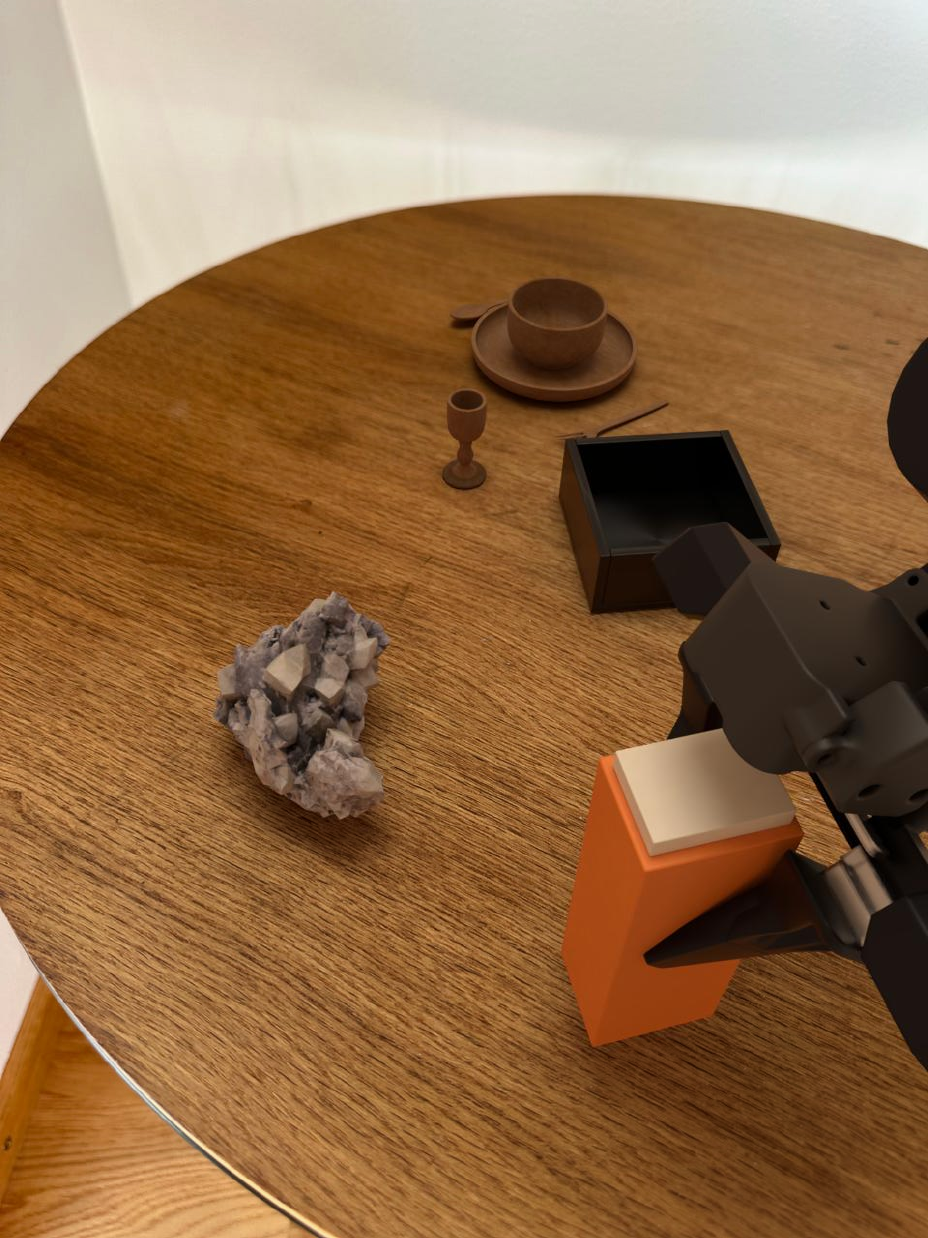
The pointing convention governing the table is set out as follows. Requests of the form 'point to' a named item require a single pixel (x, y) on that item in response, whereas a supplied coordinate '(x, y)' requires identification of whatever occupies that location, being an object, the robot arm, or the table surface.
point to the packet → (666, 876)
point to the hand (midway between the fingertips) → (628, 903)
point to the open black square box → (651, 508)
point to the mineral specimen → (308, 707)
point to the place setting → (540, 358)
